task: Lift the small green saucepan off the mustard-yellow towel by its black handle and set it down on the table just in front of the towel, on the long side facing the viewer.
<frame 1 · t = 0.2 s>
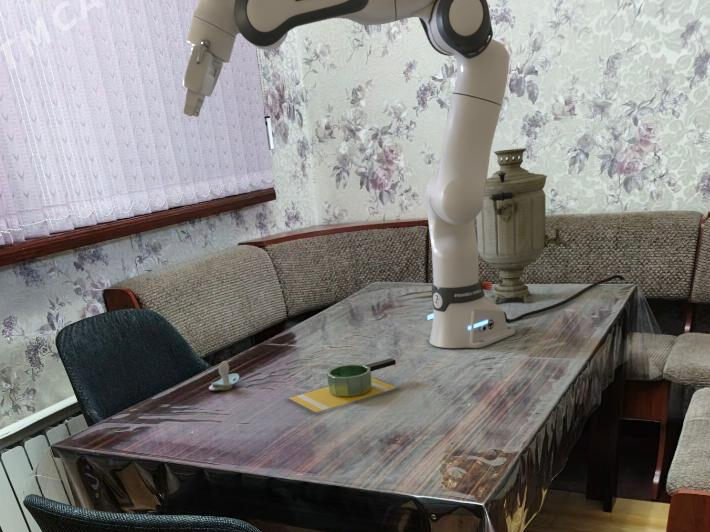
hand: (190, 115, 150), 54 cm above the table, tool tilted 30°, fingers open, 8 cm apart
pacifier: (224, 388, 162), on the table
towel: (343, 395, 151), on the table
green saucepan: (351, 390, 152), point 1 cm above the table, touching towel
samovar: (518, 300, 213), on the table
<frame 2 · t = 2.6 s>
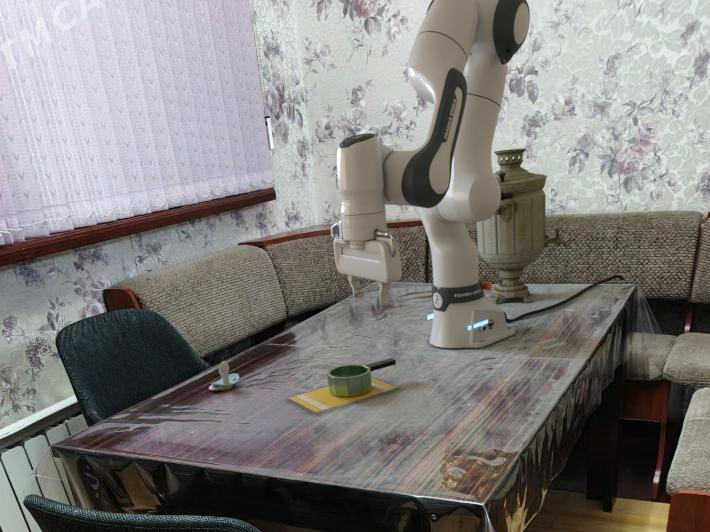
hand: (370, 300, 147), 18 cm above the table, tool pointing down, fingers open, 8 cm apart
nothing on the table moved.
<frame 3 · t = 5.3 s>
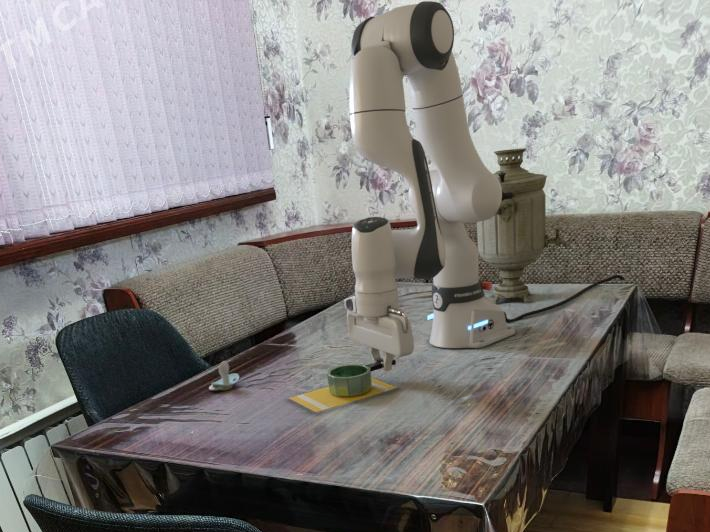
hand: (382, 368, 154), 3 cm above the table, tool pointing down, fingers closed on green saucepan, 2 cm apart
green saucepan: (351, 390, 152), point 1 cm above the table, touching gripper, towel
everything else where it was.
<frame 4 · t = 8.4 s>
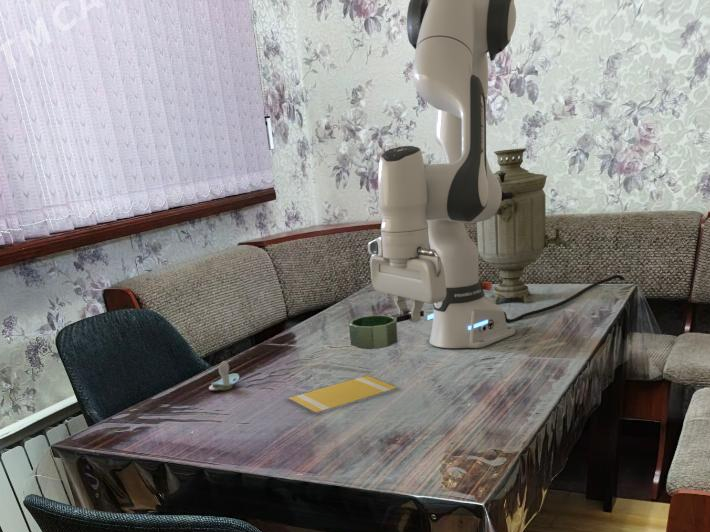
hand: (409, 320, 140), 16 cm above the table, tool pointing down, fingers closed on green saucepan
green saucepan: (374, 343, 137), point 13 cm above the table, touching gripper
everything else where it was.
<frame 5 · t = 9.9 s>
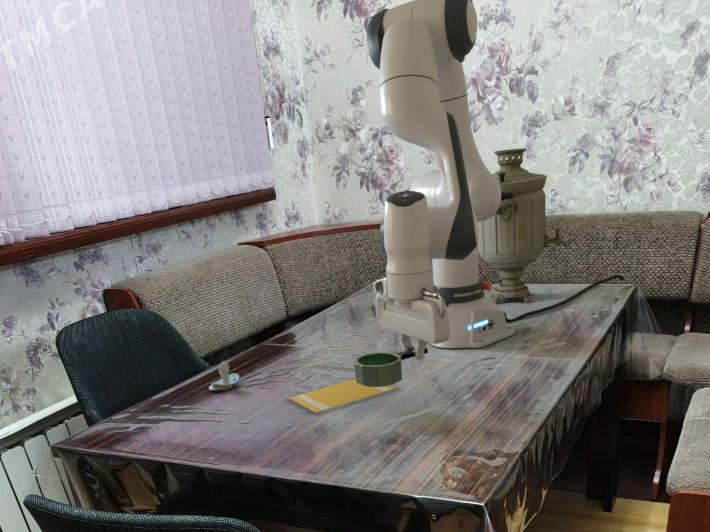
hand: (413, 357, 143), 8 cm above the table, tool pointing down, fingers closed on green saucepan
green saucepan: (379, 380, 140), point 6 cm above the table, touching gripper
everything else where it was.
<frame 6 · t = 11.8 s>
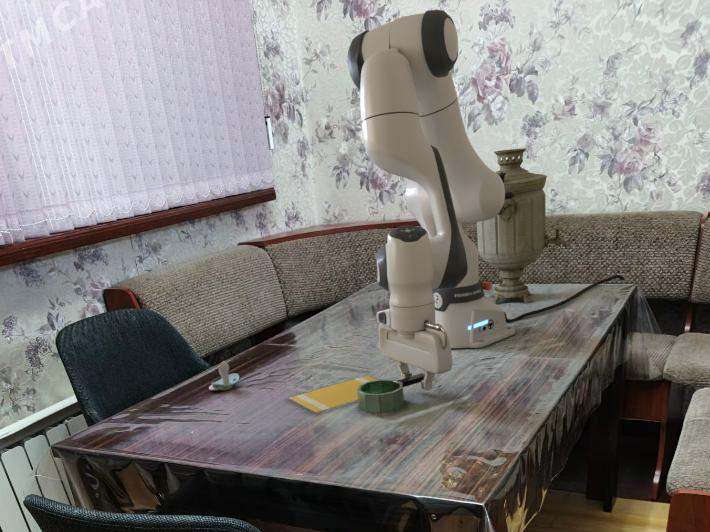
hand: (416, 385, 146), 2 cm above the table, tool pointing down, fingers open, 5 cm apart
green saucepan: (381, 407, 143), on the table
everything else where it was.
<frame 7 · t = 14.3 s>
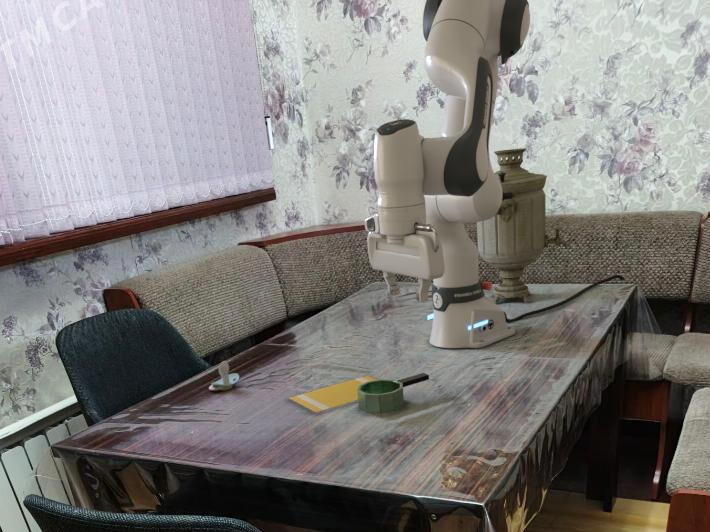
hand: (408, 297, 138), 20 cm above the table, tool pointing down, fingers open, 8 cm apart
nothing on the table moved.
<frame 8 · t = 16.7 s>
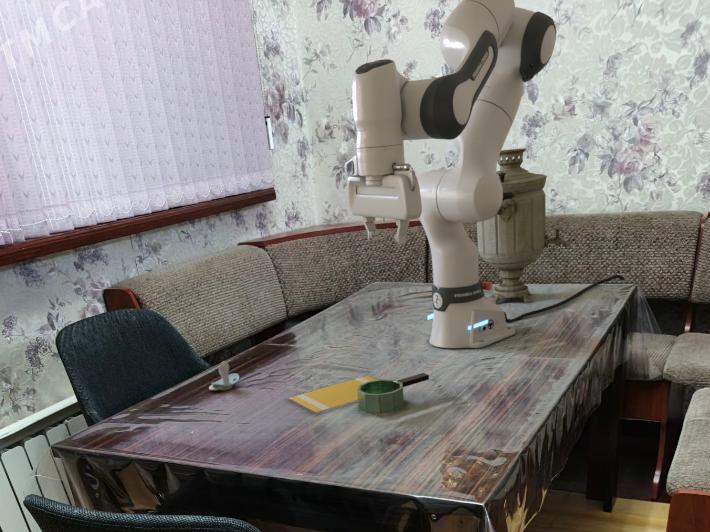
hand: (386, 242, 140), 29 cm above the table, tool pointing down, fingers open, 8 cm apart
nothing on the table moved.
at the end: green saucepan inside the target area on the table beside the towel (2.3 cm from its centre), on the table; green saucepan touching table; green saucepan tilted 0° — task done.
